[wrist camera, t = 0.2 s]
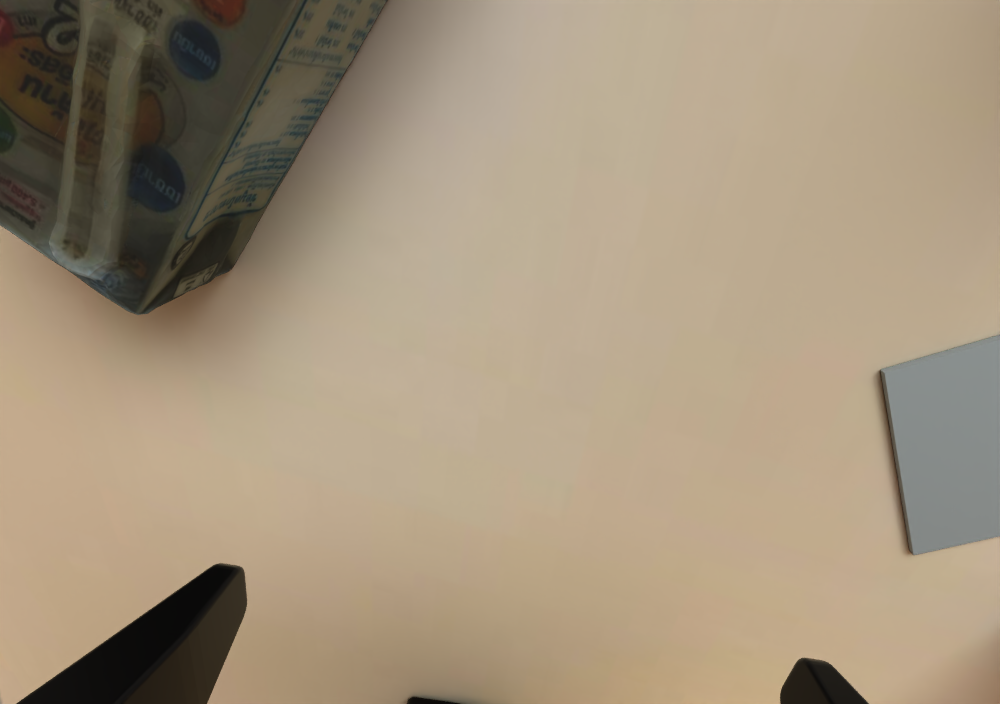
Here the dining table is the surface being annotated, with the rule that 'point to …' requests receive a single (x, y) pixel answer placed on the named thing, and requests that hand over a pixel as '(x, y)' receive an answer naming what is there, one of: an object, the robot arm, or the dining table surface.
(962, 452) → the coaster
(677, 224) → the dining table surface
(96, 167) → the beverage carton
